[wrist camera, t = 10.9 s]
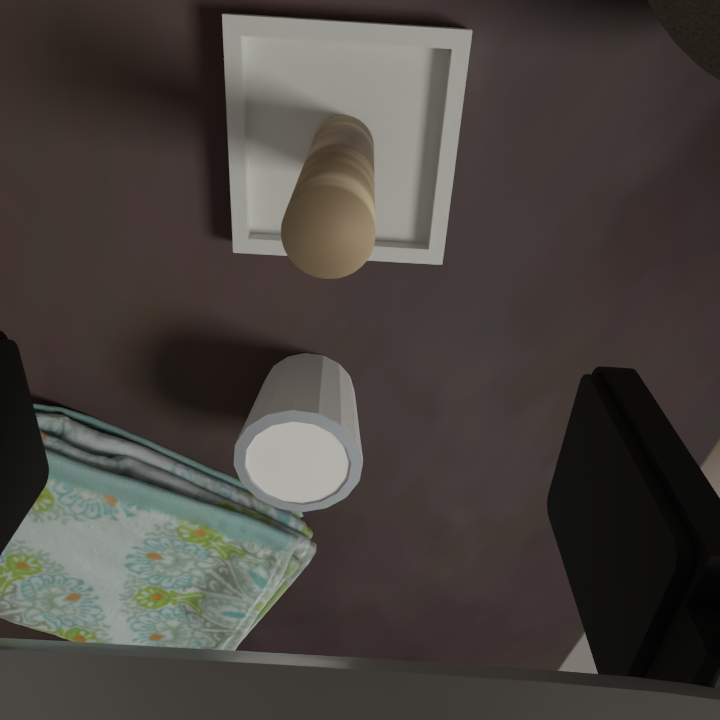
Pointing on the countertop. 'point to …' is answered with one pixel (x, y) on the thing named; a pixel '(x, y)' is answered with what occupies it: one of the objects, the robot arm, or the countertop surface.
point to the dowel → (333, 202)
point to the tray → (344, 97)
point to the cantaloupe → (693, 29)
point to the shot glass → (301, 436)
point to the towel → (144, 544)
